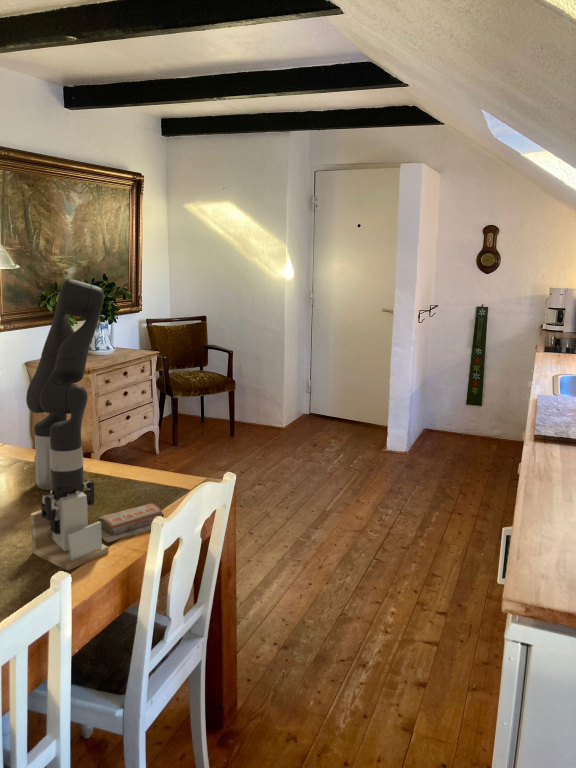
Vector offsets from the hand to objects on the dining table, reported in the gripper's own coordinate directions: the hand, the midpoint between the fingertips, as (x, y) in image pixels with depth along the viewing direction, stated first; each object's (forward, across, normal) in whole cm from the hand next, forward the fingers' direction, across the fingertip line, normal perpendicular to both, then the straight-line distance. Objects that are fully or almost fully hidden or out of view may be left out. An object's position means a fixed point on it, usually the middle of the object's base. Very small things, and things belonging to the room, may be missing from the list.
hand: (69, 527), depth 160 cm
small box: (+4, 0, 0) cm, 4 cm away
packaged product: (+7, -19, 0) cm, 20 cm away
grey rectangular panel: (+5, 0, +6) cm, 8 cm away
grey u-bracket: (+7, 0, 0) cm, 7 cm away
